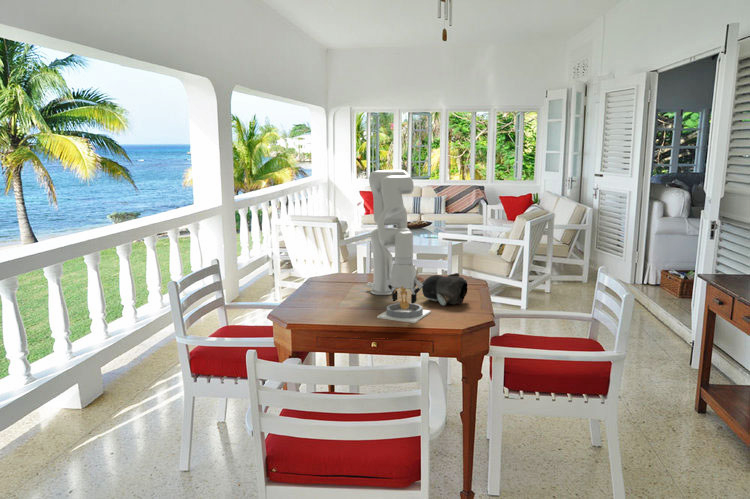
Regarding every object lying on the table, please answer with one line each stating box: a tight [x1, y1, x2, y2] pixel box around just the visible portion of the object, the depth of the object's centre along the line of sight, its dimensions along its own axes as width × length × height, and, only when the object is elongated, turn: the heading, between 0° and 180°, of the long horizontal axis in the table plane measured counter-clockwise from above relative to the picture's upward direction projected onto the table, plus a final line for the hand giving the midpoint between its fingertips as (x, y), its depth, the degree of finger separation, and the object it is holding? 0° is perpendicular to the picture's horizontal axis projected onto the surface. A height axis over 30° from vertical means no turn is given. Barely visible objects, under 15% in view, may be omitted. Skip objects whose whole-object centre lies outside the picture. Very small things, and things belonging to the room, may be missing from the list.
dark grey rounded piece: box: [421, 272, 468, 307], centre depth 259 cm, size 20×21×13 cm
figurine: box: [394, 286, 410, 309], centre depth 239 cm, size 8×6×12 cm
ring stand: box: [376, 302, 432, 324], centre depth 240 cm, size 17×17×3 cm
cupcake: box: [415, 267, 425, 283], centre depth 303 cm, size 12×10×10 cm
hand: (404, 301), depth 240 cm, fingers closed on figurine, 8 cm apart
